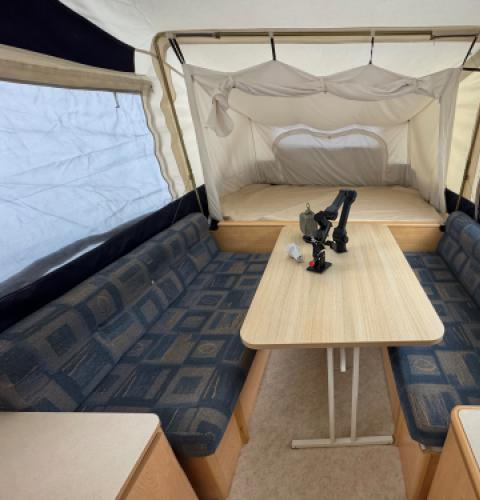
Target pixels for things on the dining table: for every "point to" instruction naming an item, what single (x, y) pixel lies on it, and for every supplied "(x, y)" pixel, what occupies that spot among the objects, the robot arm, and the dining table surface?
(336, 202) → the robot arm
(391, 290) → the dining table surface
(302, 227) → the grey lantern
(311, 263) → the switch lever
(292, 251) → the spotlight
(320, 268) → the switch bracket
